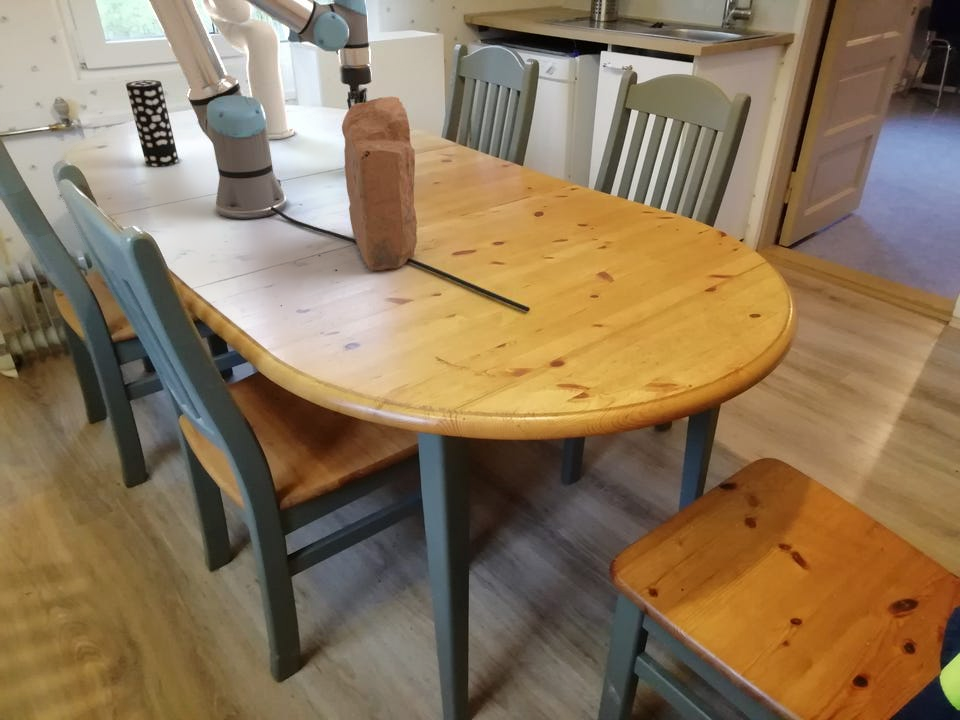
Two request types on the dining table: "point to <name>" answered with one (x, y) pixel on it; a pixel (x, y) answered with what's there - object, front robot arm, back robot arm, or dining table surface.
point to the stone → (381, 181)
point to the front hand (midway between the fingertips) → (362, 161)
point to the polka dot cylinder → (152, 122)
